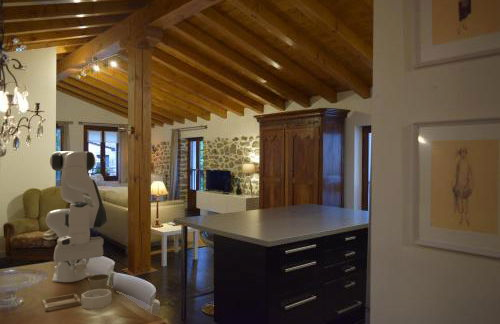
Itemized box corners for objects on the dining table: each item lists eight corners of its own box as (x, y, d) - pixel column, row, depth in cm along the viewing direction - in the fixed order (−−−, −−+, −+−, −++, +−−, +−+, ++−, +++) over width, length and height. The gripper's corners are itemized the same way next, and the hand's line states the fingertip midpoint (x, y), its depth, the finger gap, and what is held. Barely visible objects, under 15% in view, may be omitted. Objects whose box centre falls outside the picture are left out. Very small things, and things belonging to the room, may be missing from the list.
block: (74, 271, 167) (74, 263, 167) (81, 270, 169) (81, 262, 169) (76, 273, 164) (76, 265, 164) (83, 272, 165) (83, 264, 165)
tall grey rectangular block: (91, 302, 168) (91, 295, 168) (98, 301, 170) (98, 293, 170) (94, 305, 165) (94, 297, 165) (101, 304, 166) (101, 296, 166)
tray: (42, 304, 168) (42, 299, 168) (75, 297, 176) (75, 293, 176) (45, 312, 158) (45, 307, 158) (80, 305, 166) (80, 300, 166)
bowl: (79, 303, 169) (79, 292, 169) (106, 298, 176) (106, 287, 176) (85, 312, 159) (85, 300, 159) (113, 306, 166) (113, 294, 166)
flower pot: (101, 299, 175) (101, 280, 175) (83, 297, 177) (83, 279, 177) (112, 292, 184) (112, 274, 184) (95, 290, 186) (95, 273, 186)
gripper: (101, 234, 175) (101, 264, 175) (53, 239, 163) (53, 271, 163) (105, 237, 170) (104, 267, 169) (55, 242, 158) (54, 274, 158)
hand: (79, 269), depth 166 cm, fingers closed on block, 3 cm apart
